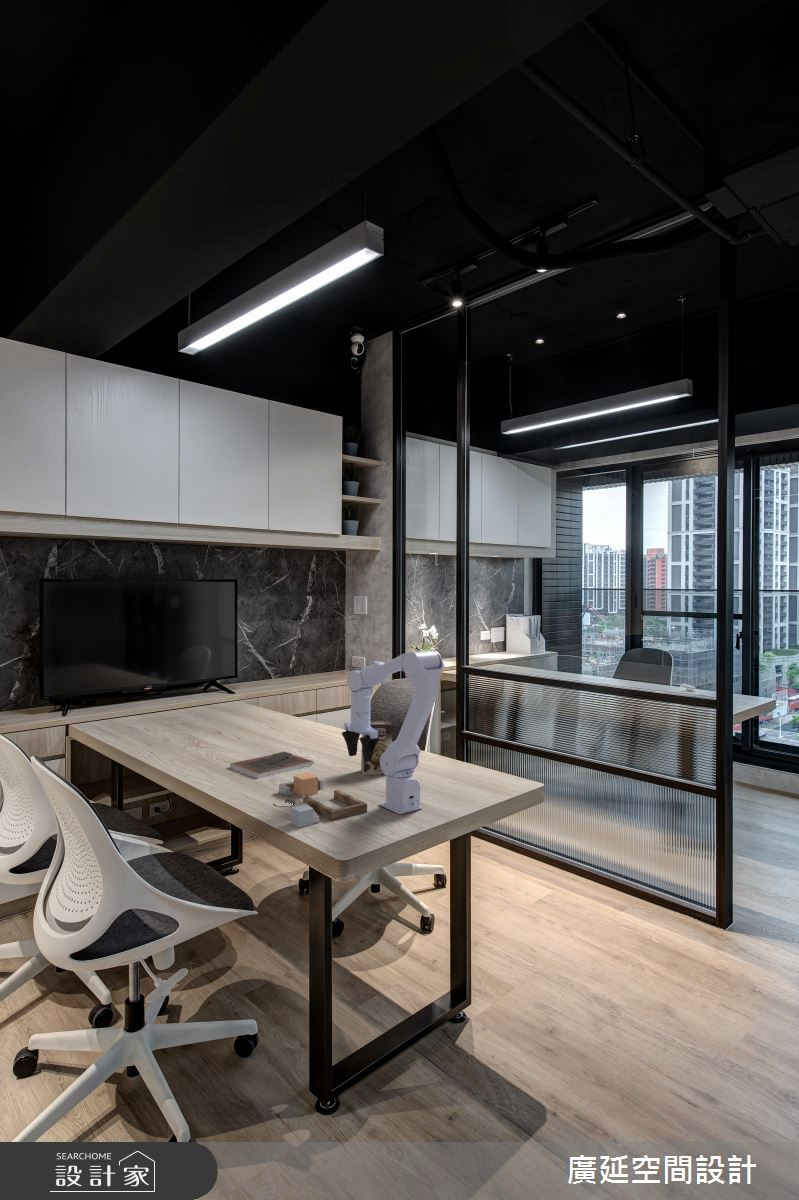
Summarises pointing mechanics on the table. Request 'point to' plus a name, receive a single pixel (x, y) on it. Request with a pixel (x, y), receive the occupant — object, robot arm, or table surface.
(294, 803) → the hole disc
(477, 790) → the table surface
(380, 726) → the coffee box
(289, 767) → the picture frame
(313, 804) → the bay
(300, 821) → the slate block
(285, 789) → the rail
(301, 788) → the cube
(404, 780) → the robot arm
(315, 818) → the steel bar
